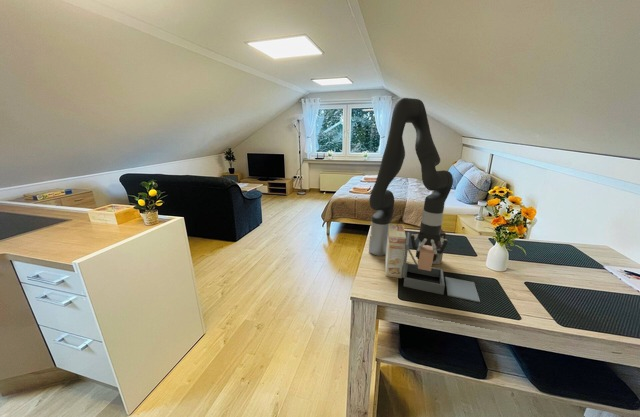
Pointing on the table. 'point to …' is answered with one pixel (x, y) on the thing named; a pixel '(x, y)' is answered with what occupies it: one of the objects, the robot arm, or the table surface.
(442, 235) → the coffee box
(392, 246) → the coffeecake box
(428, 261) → the block
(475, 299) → the mat
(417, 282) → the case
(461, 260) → the table surface
